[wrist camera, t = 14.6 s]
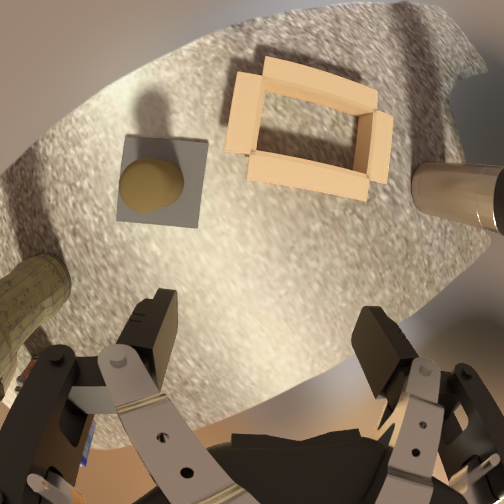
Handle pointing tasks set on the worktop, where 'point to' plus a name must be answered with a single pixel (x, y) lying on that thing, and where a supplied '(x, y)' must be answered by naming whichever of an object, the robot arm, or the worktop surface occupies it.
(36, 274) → the thermos
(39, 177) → the worktop surface
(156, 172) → the cork
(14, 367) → the canister
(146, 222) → the mat
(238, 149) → the carton
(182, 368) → the worktop surface
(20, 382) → the lighter
